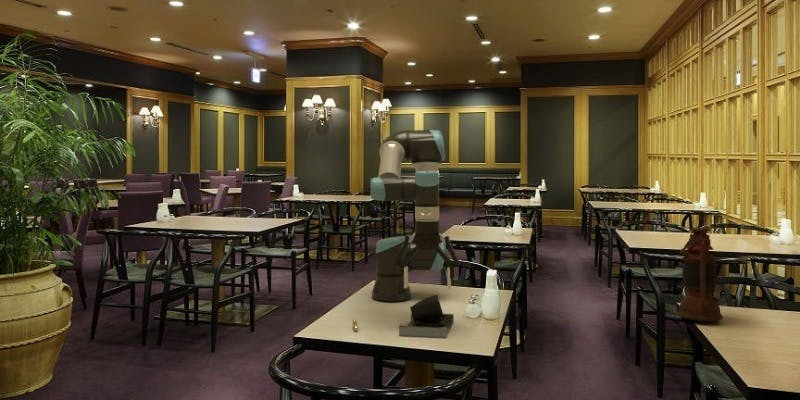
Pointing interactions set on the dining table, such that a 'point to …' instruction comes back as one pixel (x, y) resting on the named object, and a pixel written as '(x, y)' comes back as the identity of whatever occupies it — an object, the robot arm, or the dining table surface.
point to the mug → (428, 312)
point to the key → (355, 325)
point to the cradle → (428, 328)
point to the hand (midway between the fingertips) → (427, 288)
